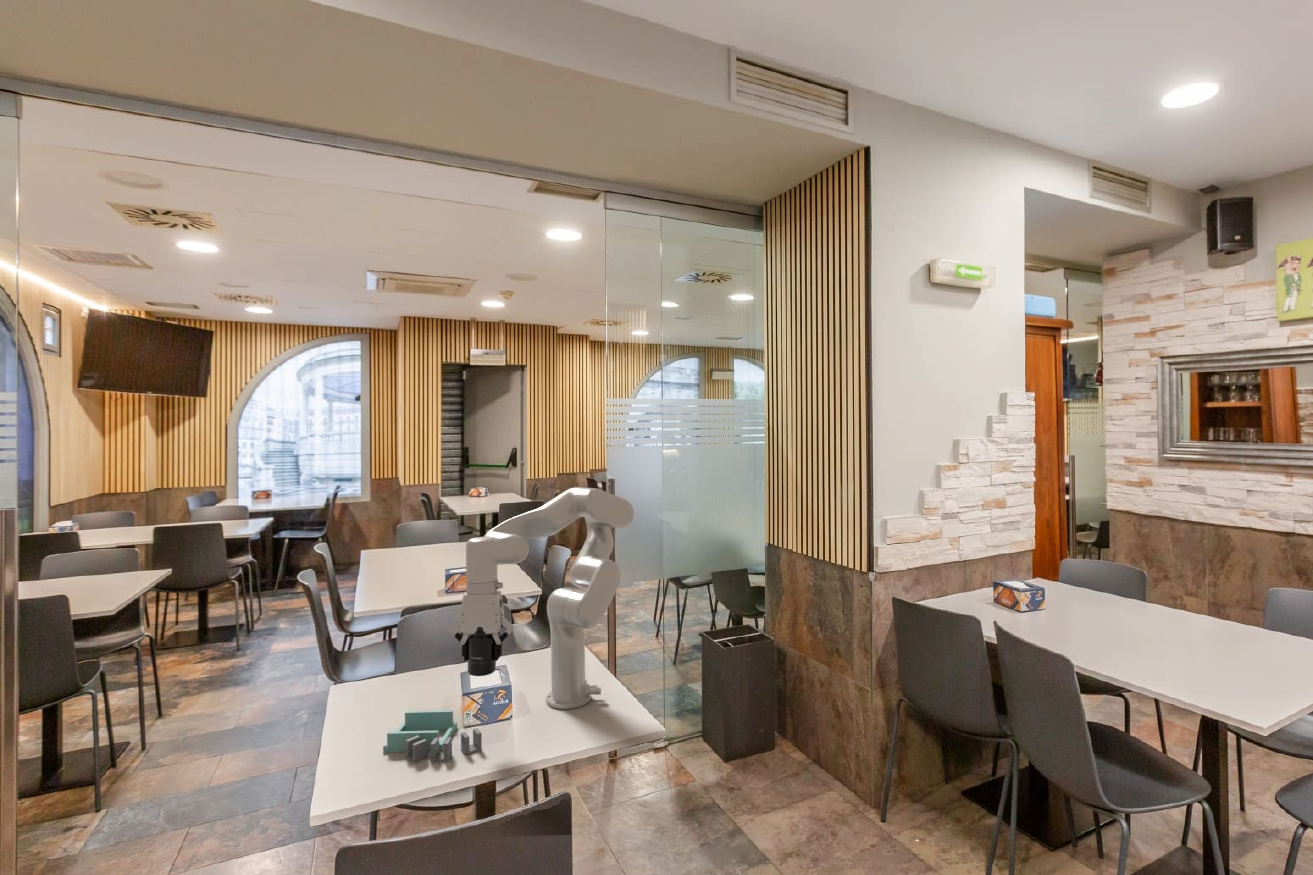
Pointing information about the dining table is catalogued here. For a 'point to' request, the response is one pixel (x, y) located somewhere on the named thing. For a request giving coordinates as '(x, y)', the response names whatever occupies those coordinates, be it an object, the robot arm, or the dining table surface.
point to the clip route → (418, 748)
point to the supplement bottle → (481, 653)
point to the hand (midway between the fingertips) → (482, 658)
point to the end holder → (421, 722)
